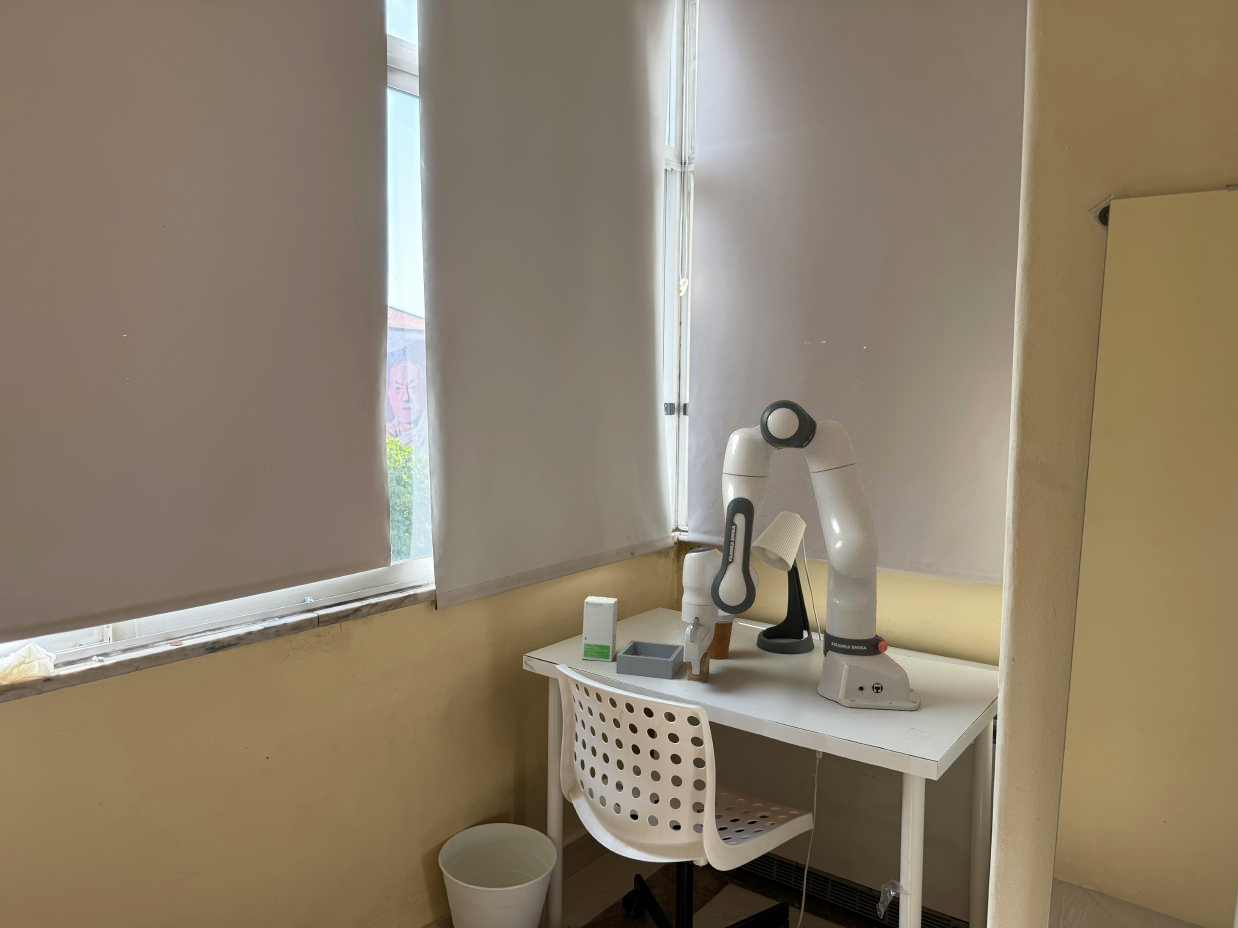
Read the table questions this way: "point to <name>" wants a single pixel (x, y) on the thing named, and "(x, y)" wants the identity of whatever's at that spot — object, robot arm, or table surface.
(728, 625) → the disposable coffee cup
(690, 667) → the walnut block
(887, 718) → the table surface
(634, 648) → the tray
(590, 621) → the skincare box
